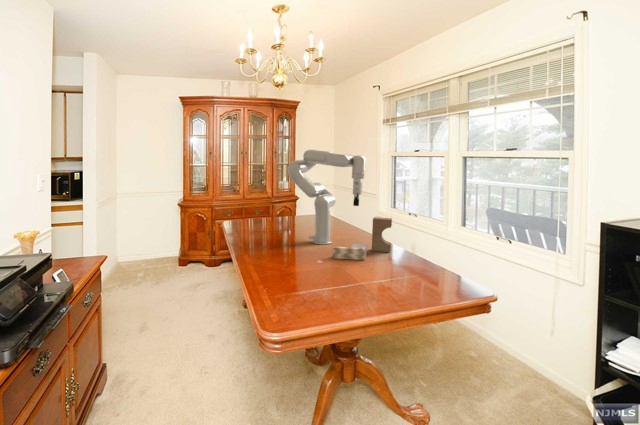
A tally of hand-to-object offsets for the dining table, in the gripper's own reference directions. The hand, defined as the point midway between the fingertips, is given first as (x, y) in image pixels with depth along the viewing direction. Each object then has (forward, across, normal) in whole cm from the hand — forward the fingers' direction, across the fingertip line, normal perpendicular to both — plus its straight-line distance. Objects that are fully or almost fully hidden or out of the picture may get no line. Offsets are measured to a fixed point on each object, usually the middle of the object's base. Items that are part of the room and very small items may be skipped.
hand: (356, 205), depth 224 cm
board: (+26, -27, -1) cm, 37 cm away
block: (+26, -21, -6) cm, 34 cm away
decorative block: (+26, -6, -18) cm, 32 cm away
